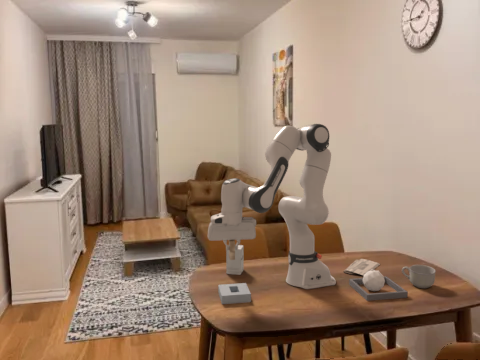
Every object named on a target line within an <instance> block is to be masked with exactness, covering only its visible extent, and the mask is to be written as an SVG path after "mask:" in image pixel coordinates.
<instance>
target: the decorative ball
mask: <svg viewBox="0 0 480 360" xmlns="http://www.w3.org/2000/svg"><path fill="white" fill-rule="evenodd" d="M384 277H385V276H384V275H383V274H382V273H381V272H380V270H375V269H374V270H373V269H371V270H370V271H368V272H367V273H365V274H364V276H362V278H363V283H364V284H363V286H364V287H365V288H366V289H367V290H369V291H371V292H374V293H375V292H378V291H380V290H381V289H383V288H384V286H385V284H386V283H385V279H384Z"/></svg>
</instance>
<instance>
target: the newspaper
mask: <svg viewBox="0 0 480 360" xmlns="http://www.w3.org/2000/svg"><path fill="white" fill-rule="evenodd" d="M380 265H381V263H379V262H376V261H373V260H370V259H366V258H365V259H364V258H360V259H355V260H354V261H353V262H352V263H350V265H348V267H346V268H345V269H344V270H343V273H345V274H349V275H353V274H357V275H361V276H362V277H364V274H365V273H367V272H368V271H370V270H371V269H373V270H375V269H377V268H378V267H379V266H380Z"/></svg>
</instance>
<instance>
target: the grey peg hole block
mask: <svg viewBox="0 0 480 360" xmlns="http://www.w3.org/2000/svg"><path fill="white" fill-rule="evenodd" d="M217 288H218V289H217V290H218V292H217V293H218V296H219V300H220V303H221V305H227V304H228V305H229V304H231V305H232V304H242V303H251V302H252V293H251V291H250V289H249V287H248V284H247V282H242V283H241V282H240V283H228V284H227V283H226V284H223V283H222V284H218V286H217Z"/></svg>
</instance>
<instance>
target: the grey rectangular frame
mask: <svg viewBox="0 0 480 360" xmlns="http://www.w3.org/2000/svg"><path fill="white" fill-rule="evenodd" d="M383 277H384V279H385V283H384V284H386V285H388V286H389V287H390V288H391V289H393V290H394V291H389V292H376V293H375V292H374V293H368V292H367V291H366V290H365V289H364V288H363V287H361V285H364V283H363V277H361V278H360V277H358V278H349V279H348V285H349V286H350V287H351V288H352V289H353V290H354V291H356V292H357V293H358V294H359V295H360V296H361V297H362V298H363V299H365V301H367V302H368V301H379V300H380V301H381V300H392V299H393V300H394V299H408V294H409V293H408V291H407V290H406V289H405V288H403V287H402V286H401V285H399V284H397V283H396V282H394V280H392V279H391V278H389V276H383Z"/></svg>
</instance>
